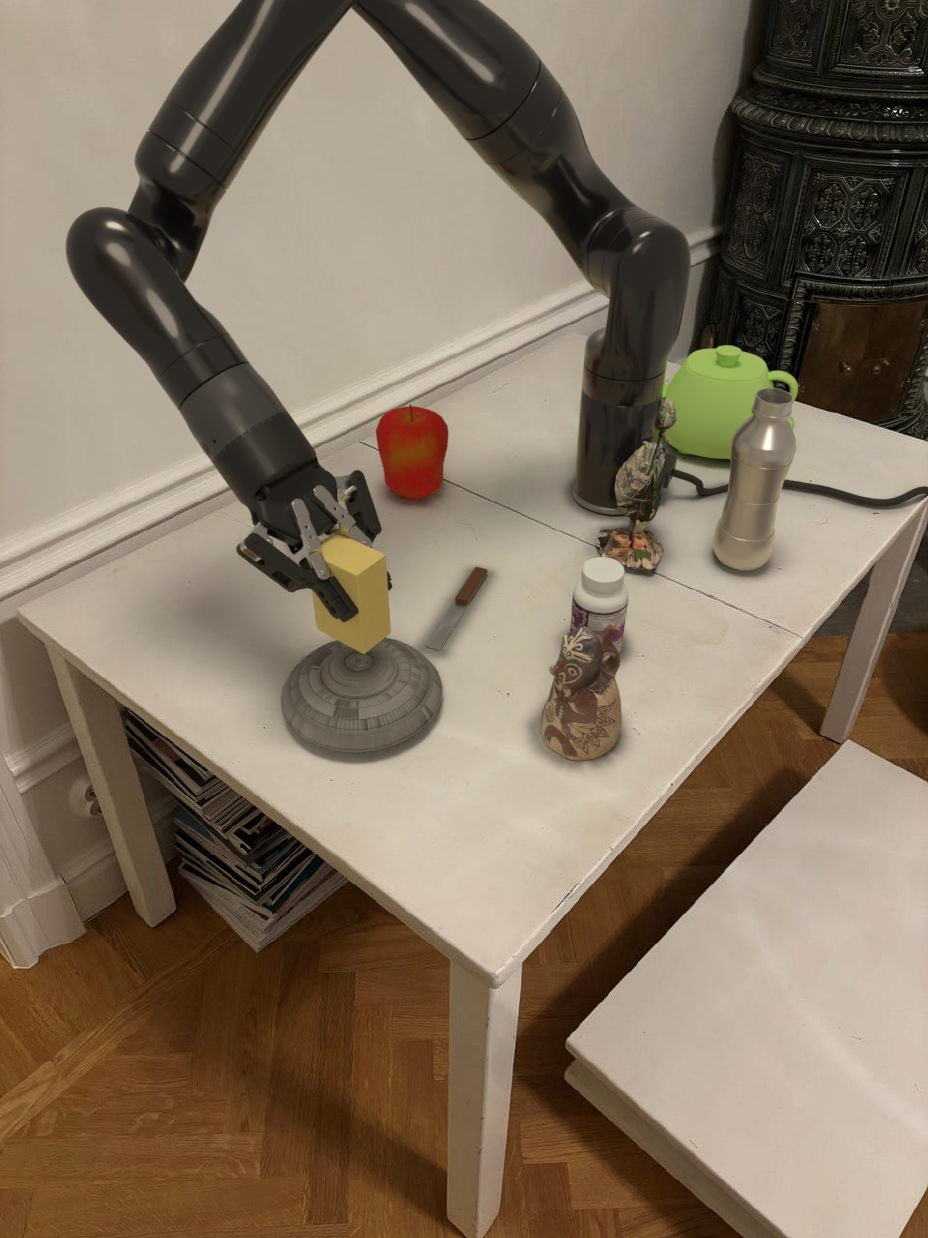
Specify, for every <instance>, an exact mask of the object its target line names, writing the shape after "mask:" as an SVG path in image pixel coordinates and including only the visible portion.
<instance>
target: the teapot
mask: <svg viewBox="0 0 928 1238" xmlns="http://www.w3.org/2000/svg"><path fill="white" fill-rule="evenodd" d="M773 381H781V382H783V383H786V384H787V385H788V386H789V391H788V393H790V394H791V395H792V396H793V404H794V402H795V401H796V398H797V396H798V393H799V384H798V381H797V380H796V377H794V376H793V375H792V374H790V373H789V372H786V371H785V370H771V371H770V370H769V368H768V366H767V363H766V361H765V360H764V359H763V358H762V357H760V356H758V355H756V354H753V353H750V352H746V351H742V349H741V348H739V347H738V346H734V345H730V344H729V345H727V344H725V345H719V346H717V347H716V348H702V349H698V350H695V351H694V352H691V354H689V355H688V356H687V357H686V359H685V360H684V361H683V363H682V364H681V365H680V366H679V368H678V369H677V371H676V372H675V373H674V375H673V376H672V378H671V380H670V381H669V383H668V384H665V383H664V388H663V395H662V398H663V397H666V396H667V397H669V399H671V400H672V402H673V404H674V406H675V409H676V414H677V419H676V422H675V424H674V425H673V426H672V427H671V428H670V429H667V430H666V434H665V439H666V440H665V441H667V440H669V442H667V443H668V444H669V445H670V446H672V447H673V448H675V449H676V450H677V451H678V452H679V453H680V454H683V455H694V456H697V457H703V458H708V459H719V460H720V459H722V460H729V461H731V442H732V437H733V435H734V433H735V431H736V429H737V428H738V427H739V426H740V425H741V424H742V423H743V422H744V421H745V420H746V419H747V418H749V417H750V416H751V415H753V413H752V412H751V408H752V405H753V403H754V399H755V395H756V393H757V391H759V390H761V389H764V388H775V386H774V382H773ZM787 421H788V423H789V425H790V427H791V428H792V431H793V430H794V428H795V424H796V423H795V420H794V418H793V417H792V416H790V418H789V419H787Z"/></svg>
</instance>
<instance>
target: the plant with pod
mask: <svg viewBox="0 0 928 1238" xmlns="http://www.w3.org/2000/svg"><path fill="white" fill-rule="evenodd" d="M676 419H677V414H676V409H675V406H674V404H673V402H672V400H671V399H669V397H667V396H666V397H663V398H661V399H660V400H659V402H658V406H657V414H656V420H655V428H656V429H657V430H659V433H658V437H659V438H658V442H655V443H646V444H645V445H643V446H642V447H641V448H639V449H638V450H636V451H635V452H634V454H633V455H632V456H631V457H630V458H629V459H628V460H627V461H626V462H625V463H624V464H623V466H622V467H621V468H620V470H619V472H618V474H617V475H616V482H615V495H616V501H617V506H618V508H619V509H620V511H621V512H622V514H621V515H623V516H625V517H627V518H629V519H630V520H629V524H628V530H626V529H625V528H623V527H620V528H615V529H612V528H610V529H609V528H607V529H605V528H603V529H599V534H597V538H596V539H595V546H597V548H598V549H599V550H598V551H597V552H598V553H599V554H600V555H601V556H600V557H607V558H611V559H614V560H616V561H618V562H619V563H621V564H622V566H623V567H624V568H625V567H627V568H632V570H638V571H639V570H640V571H642V572H643V573H647V574H649V573H653V572H655V571H656V570H657V567H658V564H659V562H660V560H661V558H662V555H664V551H665V548H664V545H663V543H661V542H659V541H658V539H657V536H655V533H653V532H652V531H651V530H645V528H646V527H647V526H648V525H649V524H650V523H651V522H652V521H653V520H654V519H655V517H656V515H657V512H658V510H659V508H660V506H661V503H662V498H663V497H662V496H663V488H662V487H663V483H664V477H665V471H666V462H667V458H666V454H667V452H666V446H665V445H664V444H662V443H661V440H662V442H667V443H668V442H669V440H666V439H665V434H666V430H667V429H670V428H671V427H672V426H673V425H674V424H675V422H676Z"/></svg>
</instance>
